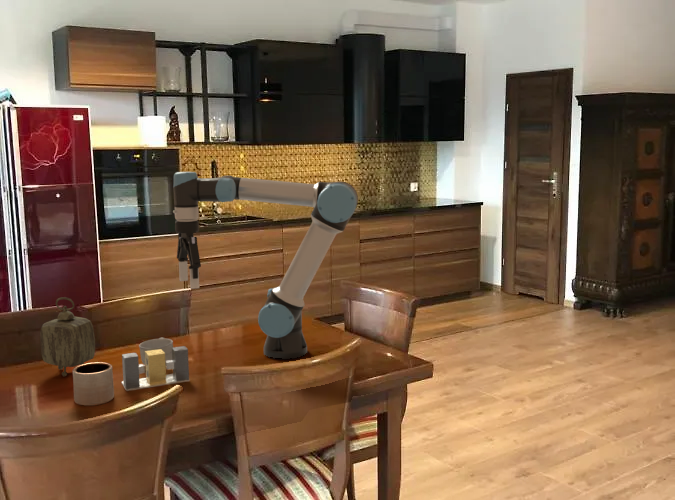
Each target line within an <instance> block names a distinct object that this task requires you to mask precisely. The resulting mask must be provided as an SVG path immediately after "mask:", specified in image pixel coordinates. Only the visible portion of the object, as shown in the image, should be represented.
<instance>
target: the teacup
mask: <svg viewBox="0 0 675 500" xmlns="http://www.w3.org/2000/svg"><path fill="white" fill-rule="evenodd" d="M138 347H139V352H140V354H139V355H140V360H141V362H142V363H141V364H143V365H145V351H151V350H158V349H162V351H163V352H164V353H165V365H166V360H172V348H173V347H174V341H173V340H172V339H170V338H165V337H159V338H153V339H148V340H145V341H143V342H141V343H140V344H138ZM145 366H146V365H145Z"/></svg>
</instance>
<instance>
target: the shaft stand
mask: <svg viewBox="0 0 675 500" xmlns="http://www.w3.org/2000/svg"><path fill="white" fill-rule="evenodd" d="M121 359H122V361H121V363H122V377H123V378H122V379H123V380H122V381H121V385H122V386H123V388H124V389H125V391H126V392H129V391H136V390H142V389H147V388H154V387H161V386H165V385H166V386H167V385H172V384H180V383H185V382H190V381H191V380H190V372H189V371H190V367H189V365H190V364H189V349H188V347H186V346H185V345H182V346H175V347H174V346H173V348H172V360H166V370H172V373H169V374H166V382H162V383H155V384H149V383H148V381H147V380H146V377H142V378H140V375H143V374H146V365H144V364H143V363H140V362H139V356H138V354H137V352H130V353H123V354H121Z"/></svg>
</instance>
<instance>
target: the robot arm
mask: <svg viewBox="0 0 675 500" xmlns="http://www.w3.org/2000/svg"><path fill="white" fill-rule="evenodd" d="M172 188H173V199H174V201H173V203H174V210H173V211H172V213H173V214H174V218H175V223H174V224H175V225H174V229H175V233H178V234H177V235H178V237H177V238H178V239H177V240H178V241H177V251H176V259H177V261H178V274H179V277H178V278H179V279H178V280H179V282H188V281H189V283H190V284H189V285H190V286H189V288H190V289H191V290H194V289H200V272H199V271H200V270H199V268H201V267H202V263H201V259H200V253H199V245H198V238H197V236H194V233H198V232H199V231H200V221H199V216H200V215H199V212H200V211H199V203H200V202H201V203H202V202H206V203H207V202H210V203H213V202H214V203H216V202H219V203H229V202H233V201H234V200H241V201H250V202H260V203H270V204H279V205H280V204H281V205H289V206H301V207H308V208H309V207H311V208H313V210H312V211H311V213H310V218H311V220H312V221H311V224H310V225H309V228H308V230H307V232H306V234H305V235H304V237H303V238H302V241H301V243H300V245H299V247H298V249H297V251H296V253H295V255H294V257H293V259H292V260H291V262H290V265H289V267H288V269H287V270H286V272H285V275H284V277H283V278H282V280H281V281H280V284H279V286H275V287H273V288H272V287H271V288H268V290H267V294H266V295H267V296H266V297H267V299H266V301H265V303H264V305H263V306H262V308H261V309H260V310H259V312H258V317H257V320H258V321H257V322H258V327H259V328H260V330H261V331H262V332H263V333H264V334H265V335H266V339H265V340H264V341H265V342H264V345H263V355H264V356H265V355H266V356H265V357H267V356H268V357H267V358H270V357H273V358H272V359H275V358H282V359H281V360H289V359H290V358H292V359H298V358H301V357H300V356H302V357H304V356H306V355H307V354H308V345H307V342H306V338H305V336H304V333H303V315H302V314H303V309H304V307H305V306H306V305H305V301H304V296H305V295H306V293H307V291H308V289H309V288H310V285H311V284H312V282H313V280H314V278H315V276H316V274H317V272H318V270H319V269H320V267H321V264H322V262H323V260H324V259H325V256H326V255H327V252H328V251H329V249H330V247H331V245H332V243H333V241H334V239H335V237H336V236H337V235H338V234H340V233H343V232H344V230H346V227H347V225H348V223H349V221H350V219H351V217H352V216H353V215H354V213H355V211H356V209H357V206H358V202H359V197H358V193H357V191H356V189H355V188H354V186H353V185H351V184H350V183H349V182H346V181H332V182H330V181H318V182H317V183H303V182H293V181H282V180H272V179H271V180H270V179H260V178H252V177H251V178H250V177H237V176H233V175H222V176H220V177H215V178H214V177H212V178H210V177H207V178H206V177H205V178H201V177H199V176H198V173H197V172H196V171H176V172H175V173H174V174H173V186H172ZM188 262H189V266H188ZM188 269H189V271H188ZM306 353H307V354H306ZM305 354H306V355H305ZM303 355H304V356H303ZM297 357H298V358H297ZM290 360H291V359H290Z"/></svg>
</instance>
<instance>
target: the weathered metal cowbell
mask: <svg viewBox="0 0 675 500" xmlns="http://www.w3.org/2000/svg"><path fill="white" fill-rule="evenodd" d="M60 300H66V301H68V302H70V303H71V304H72V307H70V308H68V307H67V306H66V305H64V306H63V307H60V306H59V305H58V302H59V301H60ZM55 307H57V309H59V310H61V312H59V313H58V315H57V318H55V319H52V320H49V321H46V322H44V323H43V324H42V326H41V327H40V334H39V336H40V337H39V339H40V340H39V342H40V344H39V345H40V351H41V357H42V360H43V362H44V363H46V364H48V365H52V366H57V369H58V370H59V371H61V370H63V371H62V372H61V375H62V377H67V375H68V372H67V368H75V367H77V366H79V365H82V364H85V363H86V362H89V361H90V360H93V359H94V357H95V353H96V352H95V351H96V338H95V332H94V331H95V328H94V325H93V323H92V322H91V320H89V319H88V318H85V317H81V316H75V315H74V313H73V312H71V311H72V310H73V309H74V307H75V302H74V301H73V300H72V298H69V297H66V296H64V297H62V296H61V297H59V298H57V299H56V300H55Z"/></svg>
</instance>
